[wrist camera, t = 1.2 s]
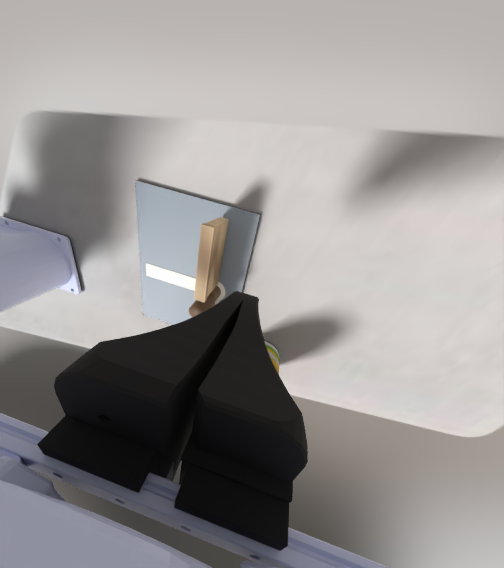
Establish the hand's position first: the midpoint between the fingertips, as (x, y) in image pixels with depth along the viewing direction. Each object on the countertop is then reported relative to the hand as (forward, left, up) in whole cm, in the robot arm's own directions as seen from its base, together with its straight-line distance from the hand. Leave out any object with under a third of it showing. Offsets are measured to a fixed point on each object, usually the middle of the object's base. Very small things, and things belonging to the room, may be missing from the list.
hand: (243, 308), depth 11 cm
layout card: (-8, -5, -9) cm, 13 cm away
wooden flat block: (-5, -1, -9) cm, 10 cm away
